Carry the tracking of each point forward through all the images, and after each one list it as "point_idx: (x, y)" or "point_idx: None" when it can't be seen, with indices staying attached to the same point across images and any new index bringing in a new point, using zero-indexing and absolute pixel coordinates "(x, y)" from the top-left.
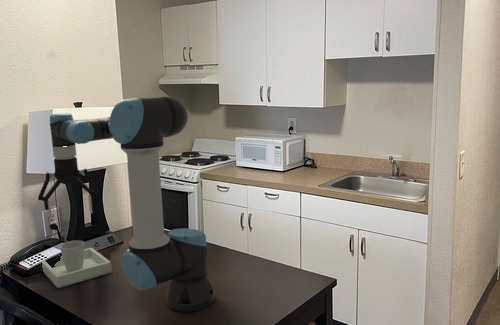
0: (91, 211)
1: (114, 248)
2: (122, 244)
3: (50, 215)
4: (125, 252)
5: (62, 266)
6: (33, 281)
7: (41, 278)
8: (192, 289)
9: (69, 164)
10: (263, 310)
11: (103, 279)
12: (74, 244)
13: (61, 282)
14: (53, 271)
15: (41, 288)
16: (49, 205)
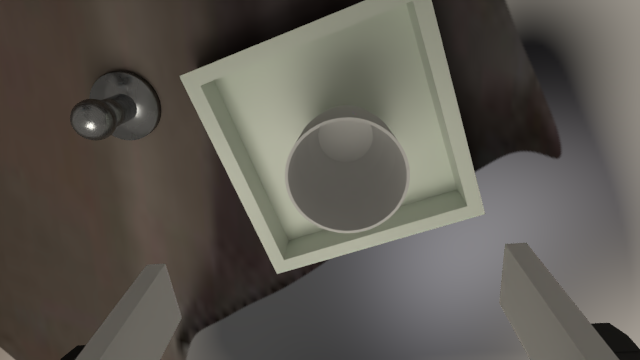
0: (145, 277)
1: (206, 297)
2: (180, 321)
3: (532, 266)
4: (103, 114)
5: None
6: (507, 98)
7: (475, 117)
8: None
9: None
10: None
11: (226, 4)
12: (338, 219)
13: None
14: (437, 62)
15: (481, 9)
16: (596, 352)
